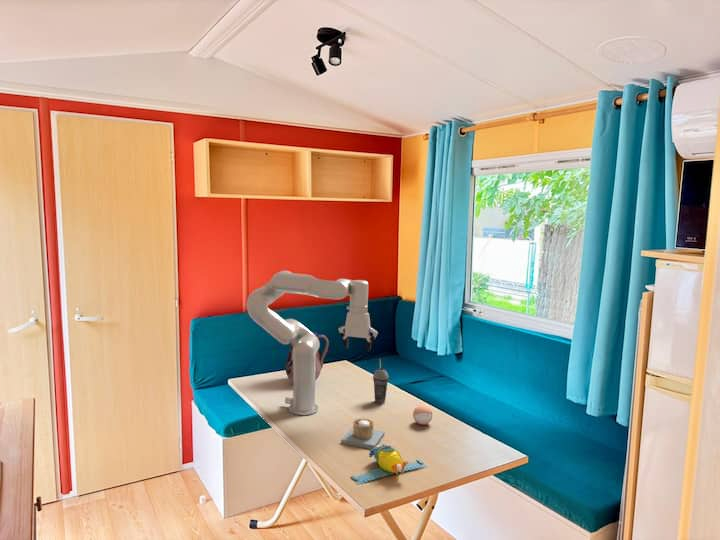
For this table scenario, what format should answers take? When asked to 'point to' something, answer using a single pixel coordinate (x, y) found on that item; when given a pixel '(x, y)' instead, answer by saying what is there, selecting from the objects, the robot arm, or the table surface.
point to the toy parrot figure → (386, 464)
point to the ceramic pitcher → (317, 359)
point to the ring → (363, 430)
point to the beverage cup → (380, 385)
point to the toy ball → (422, 414)
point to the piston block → (367, 443)
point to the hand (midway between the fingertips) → (357, 349)
